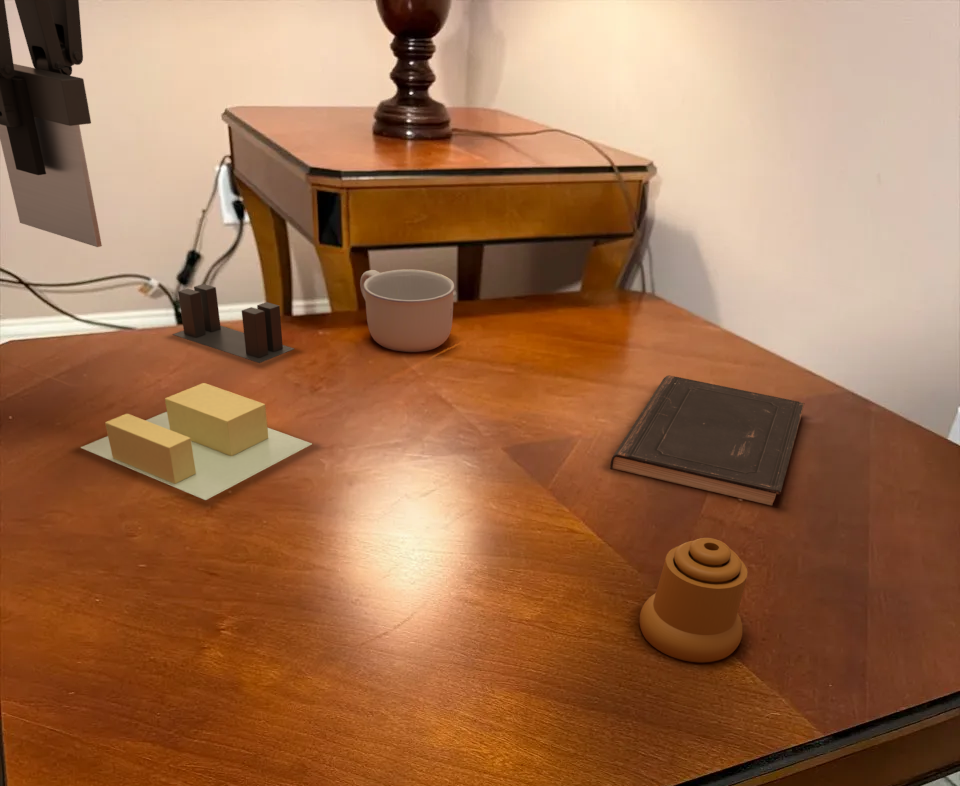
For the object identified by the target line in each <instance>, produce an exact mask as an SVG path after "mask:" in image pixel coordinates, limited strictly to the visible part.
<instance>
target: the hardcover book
mask: <svg viewBox="0 0 960 786" xmlns="http://www.w3.org/2000/svg"><path fill="white" fill-rule="evenodd" d="M805 405H806V403H805V402H804V401H803V402H802V401H798V400H794V399H788V398H783V397H778V396H774V395H769V394H764V393H759V392H753V391H749V390H744V389H739V388H733V387H729V386H725V385H719V384H714V383H708V382H704V381H699V380H694V379H690V378H684V377H680V376H675V375H666V376H664V377H663V379H662V380H661V381H660V383H659V385H658V386H657V387H656V389H655V391H654V392H653V394H652V396H651V397H650V399H649V400H648V401H647V403H646V405H645V406H644V408H643V409H642V411H641V413H640V414H639V415H638V417H637V418H636V420H635V421H634V423H633V425H632V426H631V428H630V430H629V431H628V433H627V434H626V435H625V437H624V439H623V440H622V441H621V443H620V445H619V446H618V448H617V450H616V451H615V452H614V454H613V455H612V456H611V461H610V466H609V469H610V470H613V469H614V470H618V471H623V472H627V473H631V474H636V475H640V476H643V477H649V478H652V479H657V480H661V481H665V482H669V483H673V484H678V485H682V486H686V487H692V488H696V489H700V490H704V491H708V492H712V493H717V494H721V495H724V496H730V497H734V498H738V499H742V500H746V501H751V502H755V503H760V504H763V505H767V506H773V503H774V502H775V499H776V496H777V495H781V494H782V489H783V485H784V482H785V477H786V475H787V471H788V467H789V463H790V460H791V456H792V452H793V449H794V445H795V441H796V437H797V435H798V434H797V433H798V430H799V426H800V422H801V419H802V415H803V411H804V407H805Z"/></svg>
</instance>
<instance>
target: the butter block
mask: <svg viewBox="0 0 960 786" xmlns="http://www.w3.org/2000/svg"><path fill="white" fill-rule="evenodd" d="M164 403H165V408H166V409H165V410H166V412H167V415H168V420H169V426H170V430H171V431H174V432H177V433H179V434H182V435H184V436H187V437H189V438H191V441H193V442H196V443H199V444H201V445H204V446H206V447H209V448H211V449H214V450H217V451H219V452H222V453H224V454H227V455H230V456H233V455H235V454H237V453H239V452H241V451H243V450H245V449H247V448H249V447H251V446H253V445H256V444H258V443H260V442H262V441H264V440H266V439H268V428H269V427H268V419H267V418H268V417H267V409H266V408H267V407H266V404H265V403H263V402H261V401H257V400H255V399H252V398H248V397H246V396H243V395H240V394H237V393H234V392H231V391H229V390H226V389H223V388H220V387H217V386H214V385H213V384H208V383H206V382H202V383H199V384H197V385H195V386H192V387H190V388H187V389H185V390H182V391H180V392H177V393H174V394H172V395H169V396H167V397H165V398H164ZM267 427H268V428H267Z"/></svg>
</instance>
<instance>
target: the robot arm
mask: <svg viewBox="0 0 960 786" xmlns="http://www.w3.org/2000/svg"><path fill="white" fill-rule="evenodd" d="M79 1H80V0H14V4H15V6H16V7H15V8H16V10H17V15H18V17H19V20H20V21H19V22H20V24H21V29H22V31H23V35H24V39H25V43H26V45H27V48H28V53H29V56H30V60H31V63H32V65H33V68H36V69H41V70H46V71H50V72H55V73H60V74H64V75H69V76H72V74H73V66H74V65H75V66H79V65H81V64H82V63H83V61H84V52H83V40H82V27H81V26H82V25H81V15H80V14H81V12H80V2H79ZM6 8H7V7H6V1H5V0H0V124H1V125H4V126H6V127H7V131H8V135H9V140H10V144H11V148H12V153H13V157H14V161H15V166H16V169H17V170H21V171H24V172H28V173H31V174H35V175H44V174H46V171H45V166H44V162H43V157H42V152H41V148H40V143H39V138H38V134H37V129H36V124H35V119H34V116H33V112H32V107H31V102H30V98H29V93H28V88H27V84H26V80H25V79H20V78H16V77H13V76H14V64H15V63H14V58H13V51H12V44H11V37H10V30H9V24H8V23H9V22H8V15H7V10H6Z"/></svg>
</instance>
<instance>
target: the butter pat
mask: <svg viewBox="0 0 960 786" xmlns="http://www.w3.org/2000/svg"><path fill="white" fill-rule="evenodd" d="M104 424H105V428H106V429H105V430H106V432H107V436H108V438H109V443H110V447H111V452H112V456H113V458H114V459H117V460H119V461H122V462H124V463H126V464H129V465H131V466H134V467H136V468H138V469H141V470H143V471H146V472H148V473H150V474H153V475H155V476H157V477H160V478H162V479H165V480H167V481H169V482H172V483H174V484H176V483H178V482H180V481H182V480H184V479H186V478H188V477H190V476H192V475H194V474H196V470H195V463H194V457H193V451H192V444H191V438H189V437H187V436H184V435H182V434H179V433H177V432H174V431H171V430H169V429H166V428H164V427H161V426H158V425H156V424H153V423H151V422H148V421H145V419H143V418H140V417H138V416H136V415H135V416H134V415H132V414H131V413H125V414H122V415H119V416H117V417H115V418H112V419H109V420H108V421H105V422H104Z"/></svg>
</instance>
